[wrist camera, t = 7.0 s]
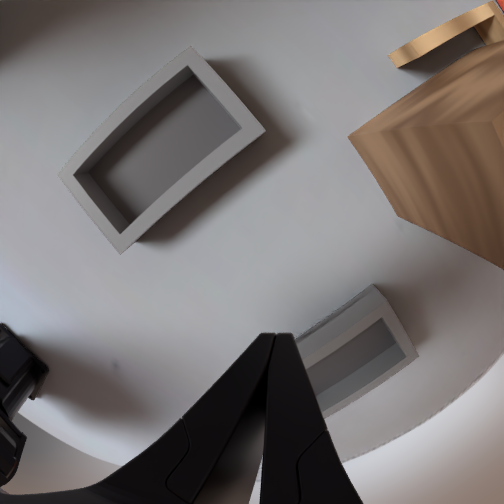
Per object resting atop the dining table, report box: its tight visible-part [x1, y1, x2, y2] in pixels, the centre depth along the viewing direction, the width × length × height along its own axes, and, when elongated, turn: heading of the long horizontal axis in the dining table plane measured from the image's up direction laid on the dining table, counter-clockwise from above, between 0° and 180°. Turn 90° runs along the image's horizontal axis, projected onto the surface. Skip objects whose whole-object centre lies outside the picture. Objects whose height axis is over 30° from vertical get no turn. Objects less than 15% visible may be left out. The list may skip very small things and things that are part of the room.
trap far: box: [295, 284, 419, 419], centre depth 20 cm, size 10×6×2 cm, turn 128°
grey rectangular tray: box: [57, 46, 266, 255], centre depth 15 cm, size 10×6×2 cm, turn 128°
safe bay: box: [388, 1, 504, 68], centre depth 14 cm, size 11×12×3 cm
